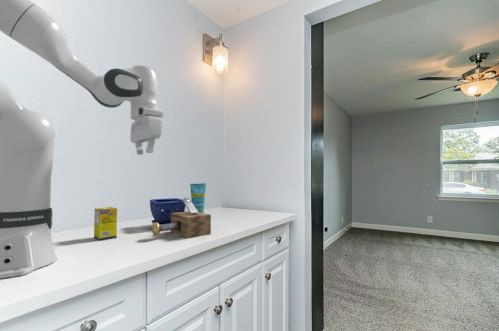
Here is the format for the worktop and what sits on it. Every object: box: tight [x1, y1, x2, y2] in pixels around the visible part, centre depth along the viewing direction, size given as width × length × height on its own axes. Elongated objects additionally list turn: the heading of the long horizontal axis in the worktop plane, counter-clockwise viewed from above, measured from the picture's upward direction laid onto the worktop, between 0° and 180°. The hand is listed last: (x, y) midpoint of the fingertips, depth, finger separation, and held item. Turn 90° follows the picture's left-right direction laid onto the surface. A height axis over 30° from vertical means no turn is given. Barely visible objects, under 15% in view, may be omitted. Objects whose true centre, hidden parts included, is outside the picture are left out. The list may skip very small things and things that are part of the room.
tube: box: [189, 182, 207, 213], centre depth 116 cm, size 7×5×19 cm, turn 123°
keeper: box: [182, 197, 198, 214], centre depth 102 cm, size 3×9×1 cm
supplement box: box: [93, 206, 118, 241], centre depth 93 cm, size 6×6×11 cm
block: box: [170, 211, 212, 239], centre depth 101 cm, size 10×14×8 cm
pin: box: [151, 222, 181, 237], centre depth 96 cm, size 14×5×5 cm, turn 132°
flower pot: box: [149, 197, 186, 225], centre depth 115 cm, size 13×13×12 cm
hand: (144, 153), depth 89 cm, fingers open, 8 cm apart
